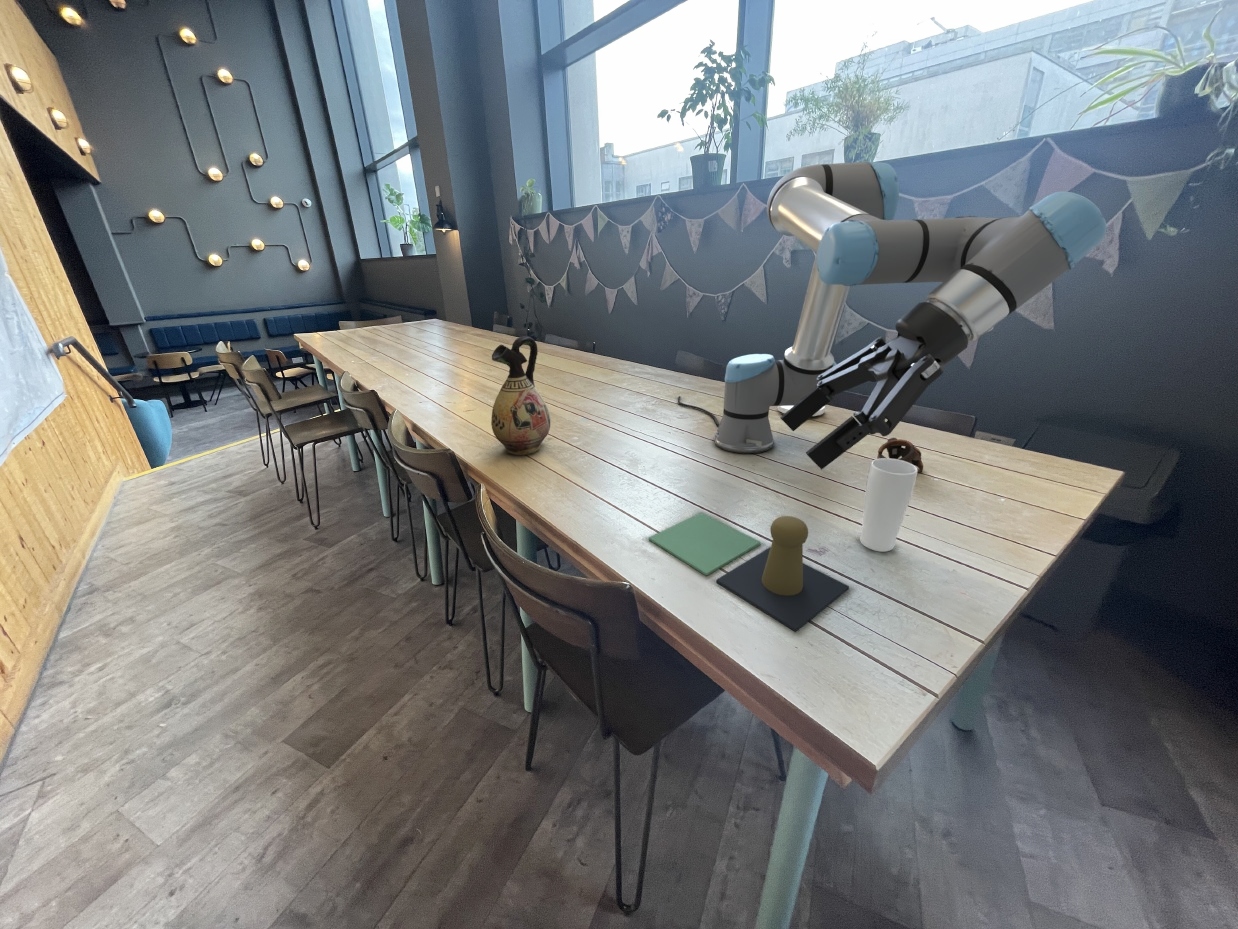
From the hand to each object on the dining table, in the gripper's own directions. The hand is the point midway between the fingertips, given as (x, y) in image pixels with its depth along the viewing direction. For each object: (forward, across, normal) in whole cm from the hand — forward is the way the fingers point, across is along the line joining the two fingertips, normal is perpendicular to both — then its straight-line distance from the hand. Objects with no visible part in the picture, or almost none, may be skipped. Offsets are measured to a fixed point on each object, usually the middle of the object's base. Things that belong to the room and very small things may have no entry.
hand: (798, 441), depth 62 cm
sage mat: (+24, +12, -9) cm, 29 cm away
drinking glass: (+4, +12, -31) cm, 33 cm away
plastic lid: (-1, +89, -35) cm, 95 cm away
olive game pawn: (+16, 0, -17) cm, 24 cm away
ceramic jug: (+56, +56, +22) cm, 83 cm away
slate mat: (+17, 0, -17) cm, 24 cm away
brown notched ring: (-9, +45, -43) cm, 63 cm away
